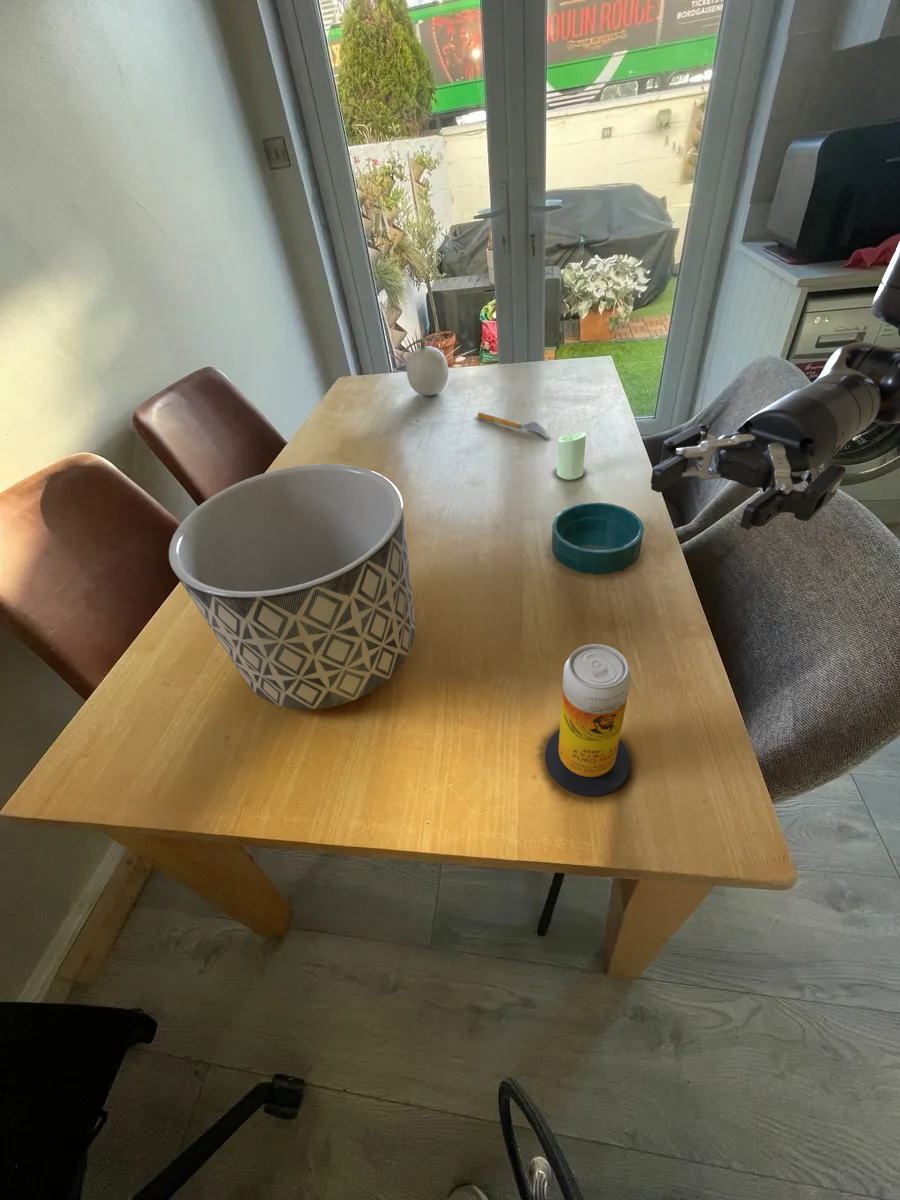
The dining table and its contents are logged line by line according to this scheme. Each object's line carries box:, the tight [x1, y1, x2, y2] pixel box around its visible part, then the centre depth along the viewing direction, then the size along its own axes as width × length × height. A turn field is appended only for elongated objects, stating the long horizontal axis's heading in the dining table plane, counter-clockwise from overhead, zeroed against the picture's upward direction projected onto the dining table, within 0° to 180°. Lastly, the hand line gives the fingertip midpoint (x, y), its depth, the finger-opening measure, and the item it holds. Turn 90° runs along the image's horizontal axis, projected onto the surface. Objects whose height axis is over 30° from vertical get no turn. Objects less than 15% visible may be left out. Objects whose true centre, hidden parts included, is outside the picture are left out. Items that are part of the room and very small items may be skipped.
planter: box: [168, 463, 416, 711], centre depth 69 cm, size 26×26×22 cm
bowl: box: [551, 502, 645, 576], centre depth 87 cm, size 14×14×4 cm
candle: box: [556, 432, 587, 481], centre depth 104 cm, size 5×5×8 cm
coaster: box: [544, 728, 631, 798], centre depth 60 cm, size 9×9×1 cm
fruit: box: [400, 335, 449, 397], centre depth 138 cm, size 10×12×15 cm
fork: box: [477, 411, 548, 439], centre depth 123 cm, size 2×2×20 cm
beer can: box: [559, 643, 632, 777], centre depth 55 cm, size 6×6×15 cm
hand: (698, 499), depth 47 cm, fingers open, 8 cm apart
